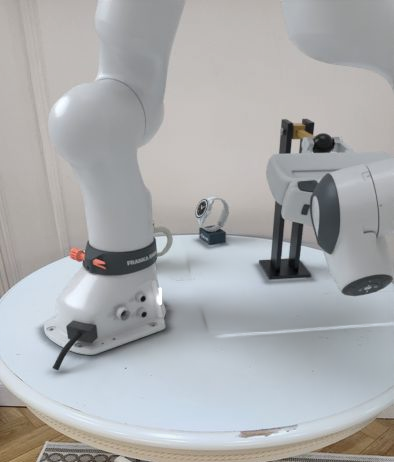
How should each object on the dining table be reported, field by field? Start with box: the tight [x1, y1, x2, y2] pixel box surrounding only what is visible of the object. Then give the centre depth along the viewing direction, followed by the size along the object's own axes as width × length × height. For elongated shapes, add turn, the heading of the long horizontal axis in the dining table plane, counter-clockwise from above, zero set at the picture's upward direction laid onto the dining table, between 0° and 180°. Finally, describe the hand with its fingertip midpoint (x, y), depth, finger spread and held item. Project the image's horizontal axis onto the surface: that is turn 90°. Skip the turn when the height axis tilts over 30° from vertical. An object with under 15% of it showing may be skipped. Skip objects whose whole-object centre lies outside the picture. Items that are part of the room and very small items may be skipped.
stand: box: [258, 118, 315, 281], centre depth 106 cm, size 9×9×30 cm
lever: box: [292, 122, 333, 153], centre depth 93 cm, size 17×4×4 cm, turn 8°
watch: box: [194, 195, 230, 246], centre depth 126 cm, size 6×8×11 cm
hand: (320, 140), depth 88 cm, fingers closed on lever, 3 cm apart
